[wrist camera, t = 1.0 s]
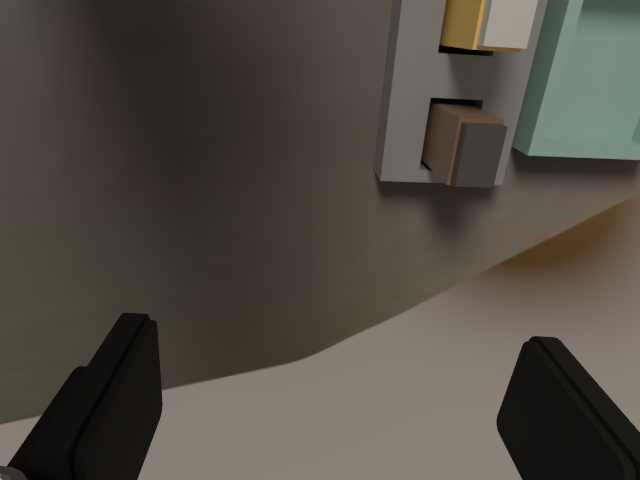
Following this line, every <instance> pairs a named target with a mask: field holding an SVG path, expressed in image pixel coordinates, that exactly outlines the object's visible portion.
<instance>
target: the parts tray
mask: <svg viewBox="0 0 640 480" xmlns="http://www.w3.org/2000/svg"><path fill="white" fill-rule="evenodd" d="M511 147H513V148H515V149H517V150H519V151H520V152H522V153H524V154H526V155H528V156H552V157H577V158H603V159H628V160H640V0H548V2H547V6H546V10H545V14H544V18H543V22H542V26H541V30H540V34H539V38H538V42H537V46H536V50H535V54H534V58H533V62H532V66H531V70H530V74H529V78H528V82H527V86H526V90H525V94H524V98H523V102H522V106H521V110H520V114H519V118H518V122H517V126H516V130H515V134H514V138H513V142H512V146H511Z"/></svg>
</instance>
